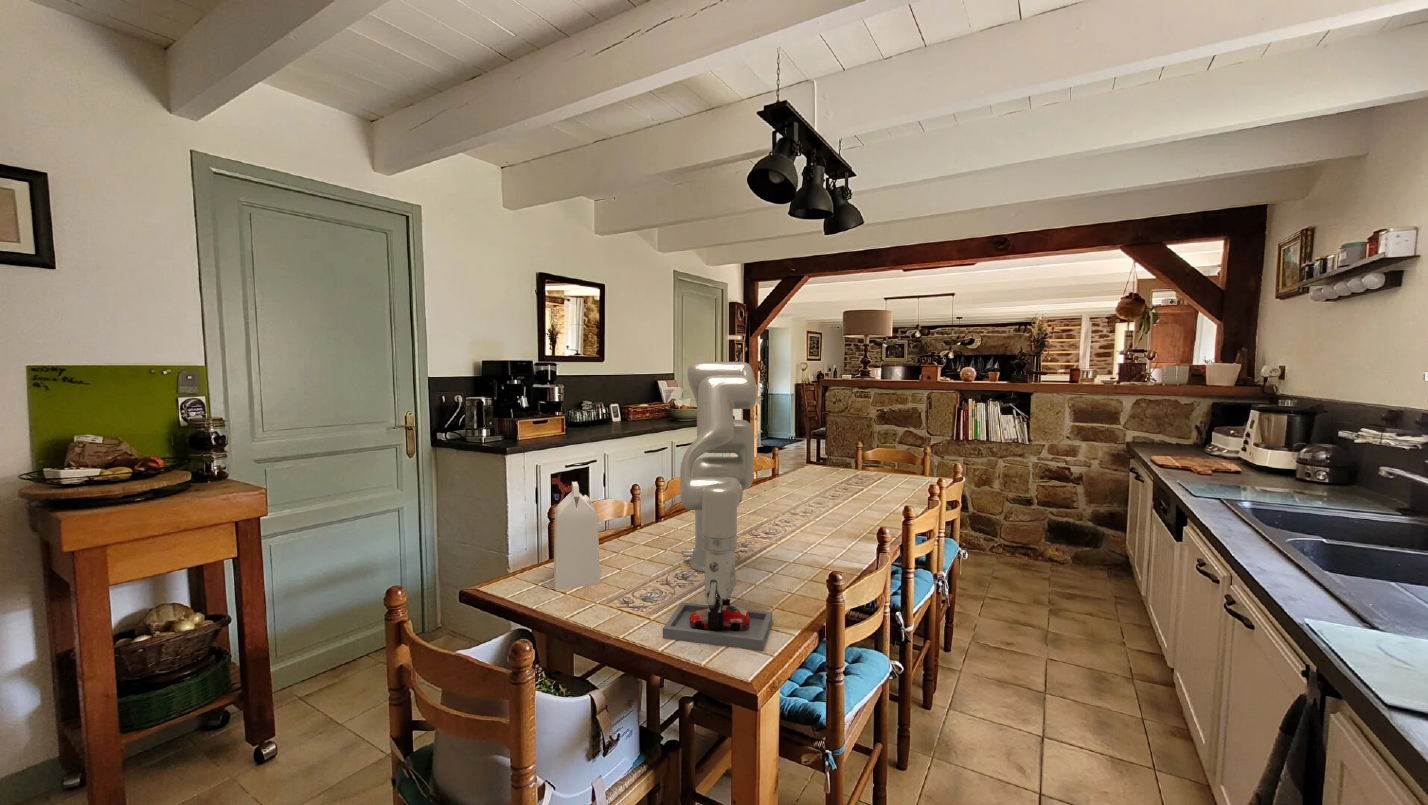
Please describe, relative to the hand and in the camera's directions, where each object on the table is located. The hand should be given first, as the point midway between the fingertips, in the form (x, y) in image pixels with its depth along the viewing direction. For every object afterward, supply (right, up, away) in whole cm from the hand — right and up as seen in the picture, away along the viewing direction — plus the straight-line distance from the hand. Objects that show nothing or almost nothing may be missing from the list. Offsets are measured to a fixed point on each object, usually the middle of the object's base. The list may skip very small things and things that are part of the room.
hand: (719, 621), depth 121 cm
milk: (-38, 0, +29) cm, 48 cm away
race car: (0, -1, 0) cm, 1 cm away
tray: (0, -2, 0) cm, 2 cm away
